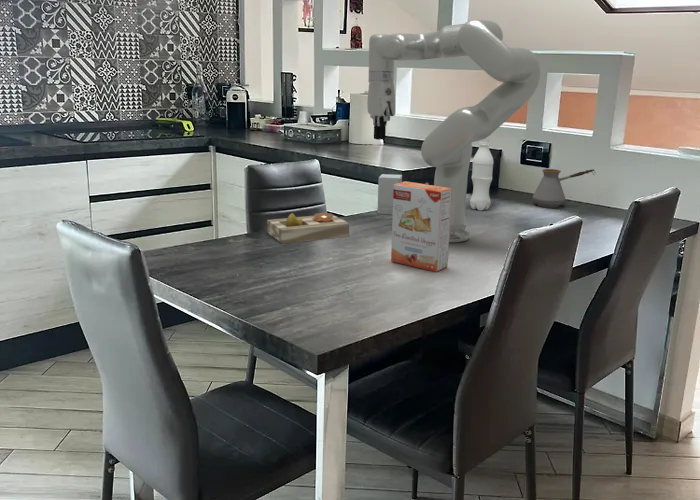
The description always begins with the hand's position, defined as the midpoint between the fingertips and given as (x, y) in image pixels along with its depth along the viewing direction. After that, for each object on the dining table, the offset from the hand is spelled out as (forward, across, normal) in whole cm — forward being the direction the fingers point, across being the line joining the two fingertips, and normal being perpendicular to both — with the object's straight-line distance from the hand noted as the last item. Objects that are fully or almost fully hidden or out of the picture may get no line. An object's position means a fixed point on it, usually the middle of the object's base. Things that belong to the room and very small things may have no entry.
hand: (379, 138), depth 209 cm
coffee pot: (+27, -3, -73) cm, 78 cm away
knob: (+25, -3, +29) cm, 39 cm away
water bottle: (+27, +6, -44) cm, 52 cm away
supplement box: (+27, +14, -12) cm, 33 cm away
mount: (+27, -3, +25) cm, 37 cm away
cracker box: (+27, -42, +10) cm, 51 cm away
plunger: (+26, -3, +20) cm, 33 cm away
